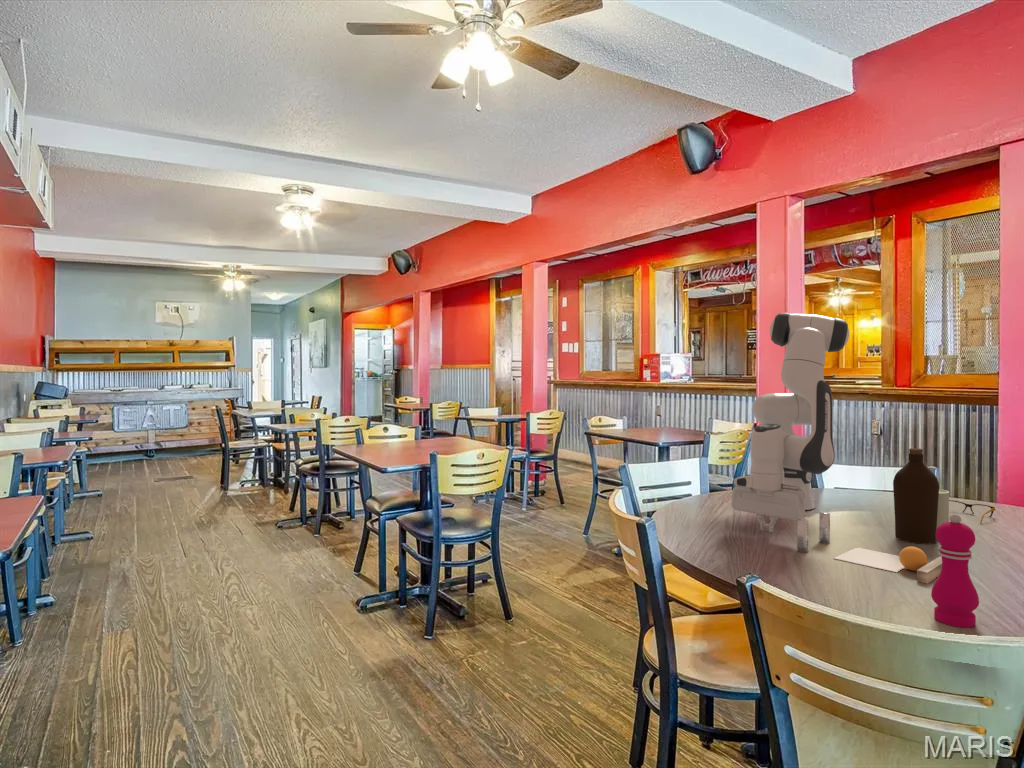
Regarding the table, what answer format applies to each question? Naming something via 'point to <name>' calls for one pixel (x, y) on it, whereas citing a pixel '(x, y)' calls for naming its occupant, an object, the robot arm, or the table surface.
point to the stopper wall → (930, 571)
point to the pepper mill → (955, 575)
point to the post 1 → (802, 535)
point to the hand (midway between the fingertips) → (767, 530)
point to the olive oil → (916, 500)
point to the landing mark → (872, 559)
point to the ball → (912, 558)
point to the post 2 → (824, 527)
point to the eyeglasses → (977, 504)
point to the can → (943, 507)
